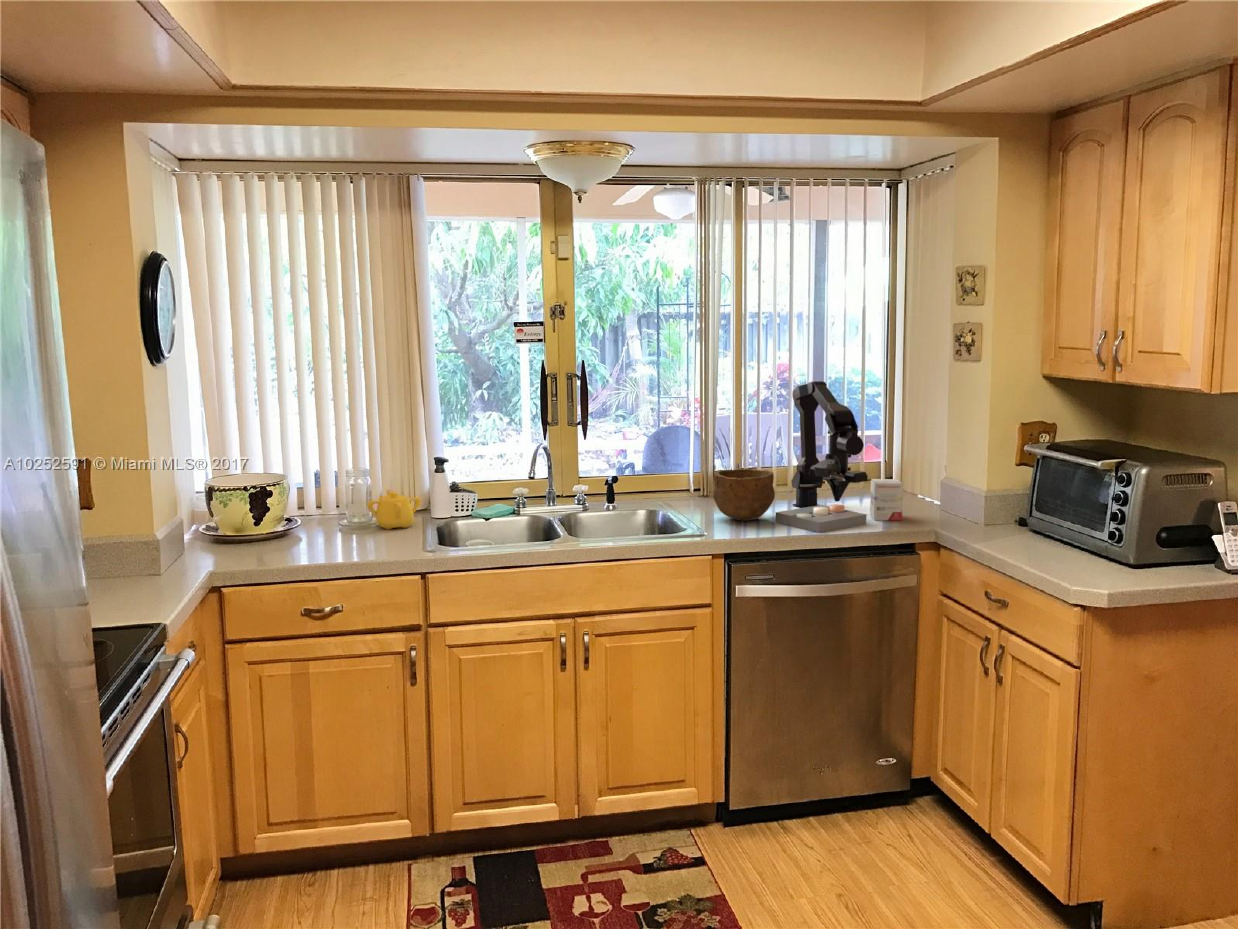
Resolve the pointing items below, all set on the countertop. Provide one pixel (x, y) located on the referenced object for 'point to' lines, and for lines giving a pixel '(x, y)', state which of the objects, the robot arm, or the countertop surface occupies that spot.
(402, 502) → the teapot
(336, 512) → the countertop surface
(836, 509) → the orange button
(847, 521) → the panel
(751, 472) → the bowl
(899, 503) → the ink box
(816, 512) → the cream button
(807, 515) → the sage button
